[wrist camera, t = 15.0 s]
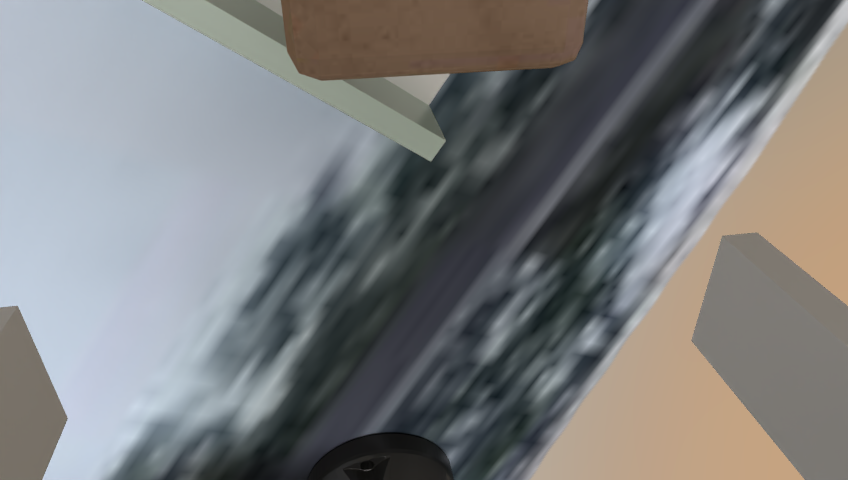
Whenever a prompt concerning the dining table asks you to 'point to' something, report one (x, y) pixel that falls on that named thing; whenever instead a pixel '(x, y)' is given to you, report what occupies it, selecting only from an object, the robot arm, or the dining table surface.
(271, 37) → the corner tray
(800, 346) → the robot arm
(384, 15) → the wooden block
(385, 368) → the dining table surface
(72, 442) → the dining table surface
